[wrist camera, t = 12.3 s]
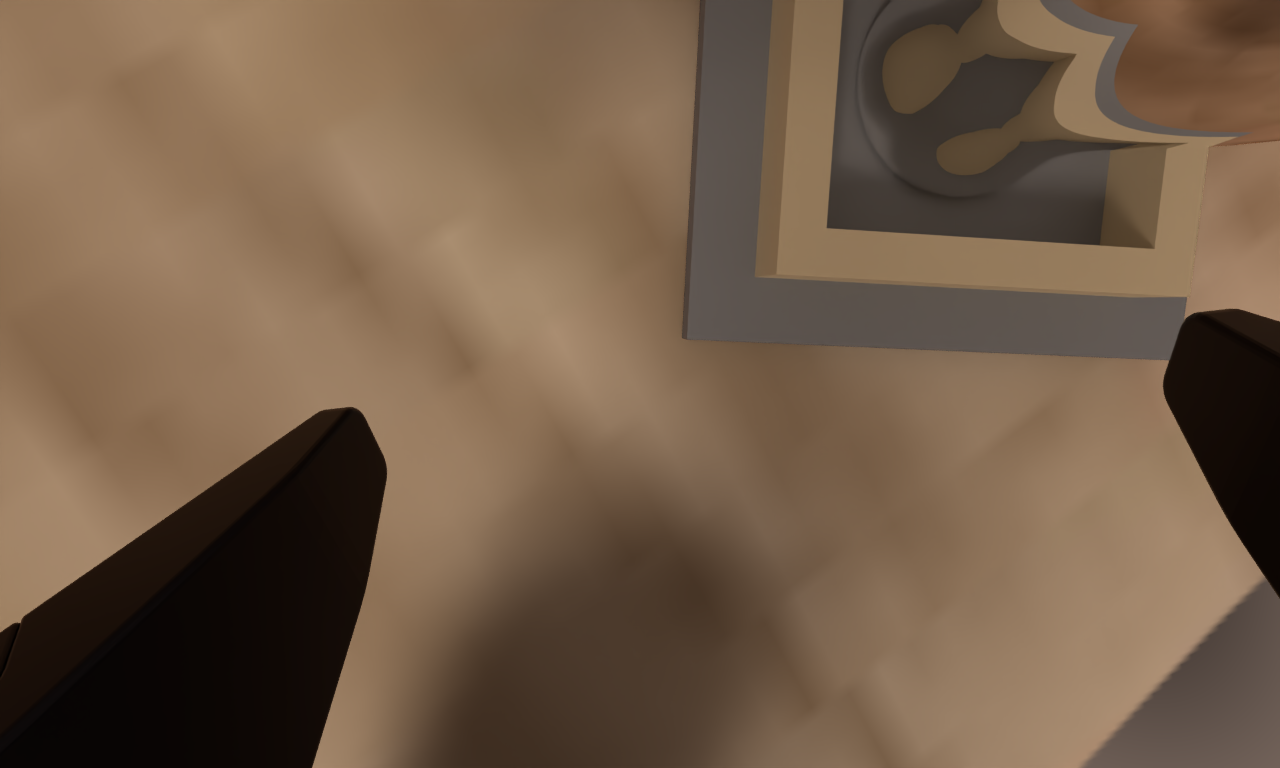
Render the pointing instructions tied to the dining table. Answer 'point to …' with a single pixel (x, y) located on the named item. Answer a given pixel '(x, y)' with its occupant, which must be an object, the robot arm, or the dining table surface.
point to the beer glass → (1061, 83)
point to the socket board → (909, 216)
